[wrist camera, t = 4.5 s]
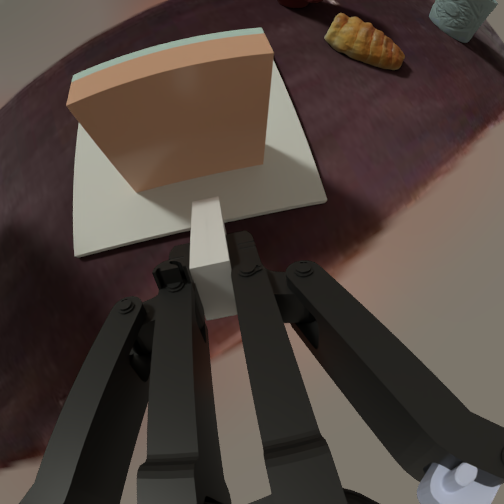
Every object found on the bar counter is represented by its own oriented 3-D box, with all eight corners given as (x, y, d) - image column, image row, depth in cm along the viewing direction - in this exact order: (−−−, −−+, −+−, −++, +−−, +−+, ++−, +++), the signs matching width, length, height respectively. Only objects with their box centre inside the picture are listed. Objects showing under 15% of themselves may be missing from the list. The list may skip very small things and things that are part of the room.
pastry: (402, 56, 27) (412, 36, 23) (395, 83, 26) (407, 61, 22) (334, 25, 28) (340, 4, 24) (318, 48, 26) (324, 24, 23)
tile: (136, 192, 21) (66, 105, 10) (134, 166, 22) (73, 75, 11) (263, 164, 22) (273, 52, 11) (256, 139, 22) (261, 27, 12)
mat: (78, 257, 21) (74, 256, 20) (87, 84, 25) (85, 81, 24) (325, 202, 22) (327, 199, 21) (263, 42, 26) (263, 38, 25)
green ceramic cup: (434, 30, 29) (460, -19, 17) (418, 4, 31) (438, -39, 20) (478, 53, 29) (507, 12, 17) (460, 25, 31) (483, -13, 19)
